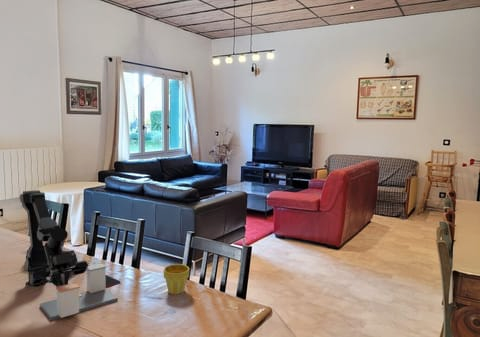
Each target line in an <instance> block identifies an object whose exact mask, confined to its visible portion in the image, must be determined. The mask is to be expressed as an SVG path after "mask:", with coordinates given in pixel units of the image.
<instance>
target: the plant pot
mask: <svg viewBox="0 0 480 337" xmlns="http://www.w3.org/2000/svg"><path fill="white" fill-rule="evenodd" d="M189 277H190V266H187V265H186V264H181V263H174V264H169V265H167V266H165V267H164V268H163V278H164V279H165V282H166V287H167V292H168V294H171V295H180V293H181V294H183V293H184V292H185V290H186V285H187V280H188V279H189Z"/></svg>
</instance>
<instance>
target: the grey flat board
mask: <svg viewBox="0 0 480 337" xmlns="http://www.w3.org/2000/svg"><path fill="white" fill-rule="evenodd" d="M118 300H119V299H118V296H116V295H115V294H113V293H112V291H110V290H109V289H107V288H106V289H105V290H101V291H97V292H94V293H90V292H89V291H87V290H86V291H82V292H79V313H82V312H84V311H88V310H91V309H93V308H94V309H95V308H97V307H101V306H104V305H108V304H112V303H115V302H118ZM39 307H40V309H41V310H42V311H43V312H44V314H45V315H46V316H47V317H48V318H49V320H50V321H54V320H57V319H62V318H61V317H60V316H59V315H58V314H57V298H56V299H53V300H49V301H46V302H41V303H39Z"/></svg>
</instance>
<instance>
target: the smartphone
mask: <svg viewBox="0 0 480 337" xmlns="http://www.w3.org/2000/svg"><path fill="white" fill-rule="evenodd" d="M105 280H106V289H107V288H110V287H113V286H115V285H116V286H117V285H119V284H120V283H121V281H120V280H118V279H116V278H114V277H111V276H109V275H107V274H105Z"/></svg>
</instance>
